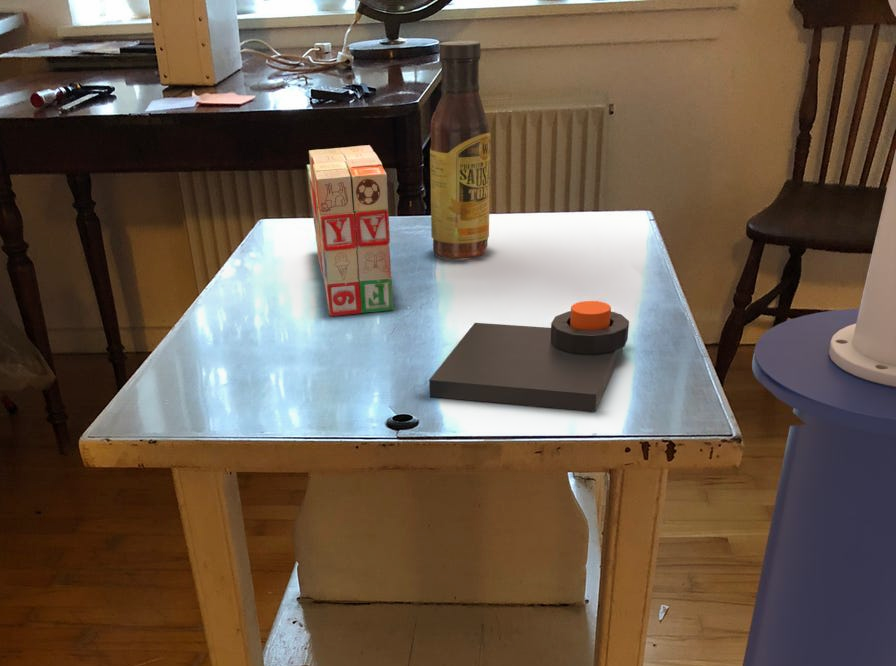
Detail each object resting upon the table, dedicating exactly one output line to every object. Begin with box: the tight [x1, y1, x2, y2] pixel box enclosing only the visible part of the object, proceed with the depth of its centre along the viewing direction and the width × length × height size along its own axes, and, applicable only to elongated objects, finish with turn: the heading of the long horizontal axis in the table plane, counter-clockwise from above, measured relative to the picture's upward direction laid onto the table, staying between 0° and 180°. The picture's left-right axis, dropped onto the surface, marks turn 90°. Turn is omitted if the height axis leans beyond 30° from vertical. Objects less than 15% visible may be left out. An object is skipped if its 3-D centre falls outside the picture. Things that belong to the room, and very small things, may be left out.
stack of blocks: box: [306, 144, 394, 317], centre depth 97 cm, size 21×6×12 cm, turn 8°
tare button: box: [570, 300, 612, 330], centre depth 79 cm, size 3×3×2 cm
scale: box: [428, 310, 630, 412], centre depth 79 cm, size 14×14×3 cm
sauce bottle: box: [429, 40, 491, 261], centre depth 101 cm, size 6×6×20 cm
